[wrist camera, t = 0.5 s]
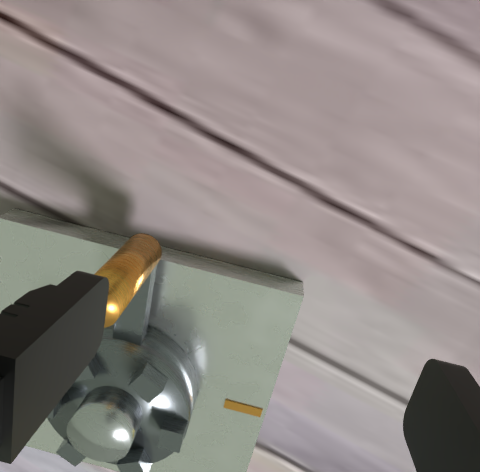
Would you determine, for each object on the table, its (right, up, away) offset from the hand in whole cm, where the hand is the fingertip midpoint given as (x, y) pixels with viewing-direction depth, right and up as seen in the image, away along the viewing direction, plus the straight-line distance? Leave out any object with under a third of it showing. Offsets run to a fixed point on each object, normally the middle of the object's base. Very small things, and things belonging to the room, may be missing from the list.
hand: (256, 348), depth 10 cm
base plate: (-9, -8, +24) cm, 27 cm away
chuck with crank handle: (-8, -5, +21) cm, 23 cm away
